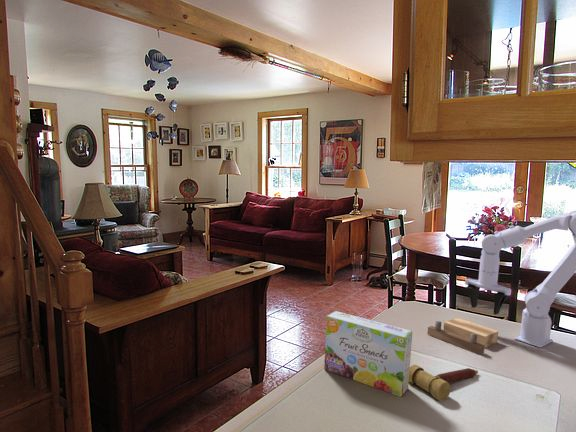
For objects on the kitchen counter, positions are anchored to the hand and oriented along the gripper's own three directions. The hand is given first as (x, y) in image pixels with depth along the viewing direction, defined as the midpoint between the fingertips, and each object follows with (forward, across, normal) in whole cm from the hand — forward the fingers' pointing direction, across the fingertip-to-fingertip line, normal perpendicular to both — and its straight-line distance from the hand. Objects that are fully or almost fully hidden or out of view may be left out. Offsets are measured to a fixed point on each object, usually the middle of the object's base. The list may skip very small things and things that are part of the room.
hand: (484, 310), depth 141 cm
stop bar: (+8, 0, +18) cm, 19 cm away
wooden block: (+8, 0, +8) cm, 12 cm away
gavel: (+8, -13, +41) cm, 44 cm away
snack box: (+8, 0, +58) cm, 59 cm away
